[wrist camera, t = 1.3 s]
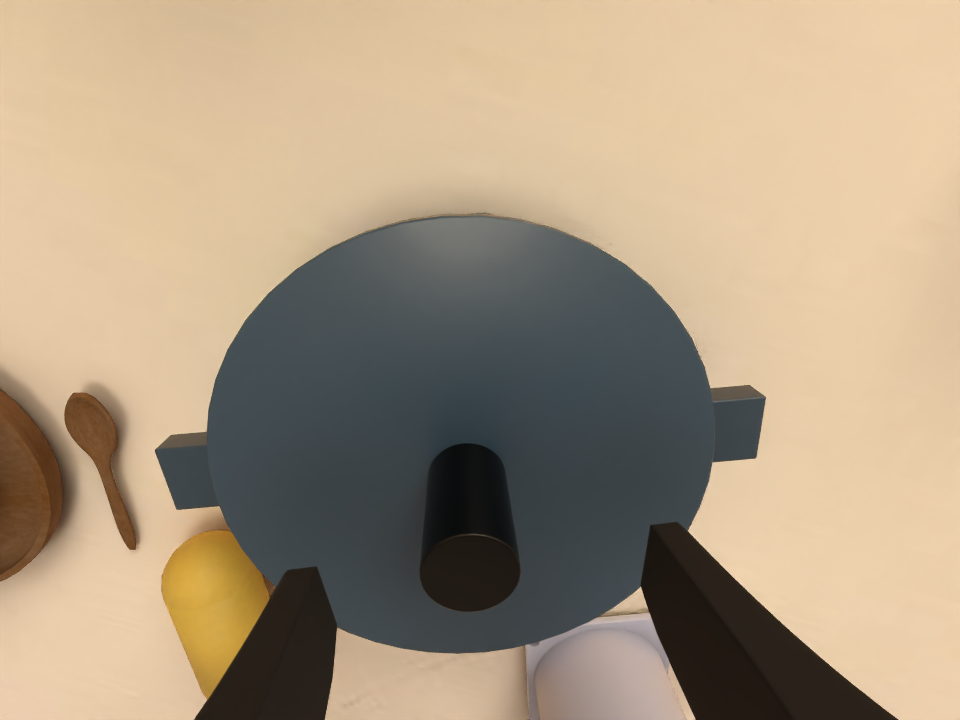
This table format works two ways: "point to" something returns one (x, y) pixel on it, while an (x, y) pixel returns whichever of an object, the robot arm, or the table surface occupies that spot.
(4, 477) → the place setting
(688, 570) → the robot arm
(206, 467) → the pot
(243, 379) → the pot lid
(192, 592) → the yellow rounded capsule
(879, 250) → the table surface
